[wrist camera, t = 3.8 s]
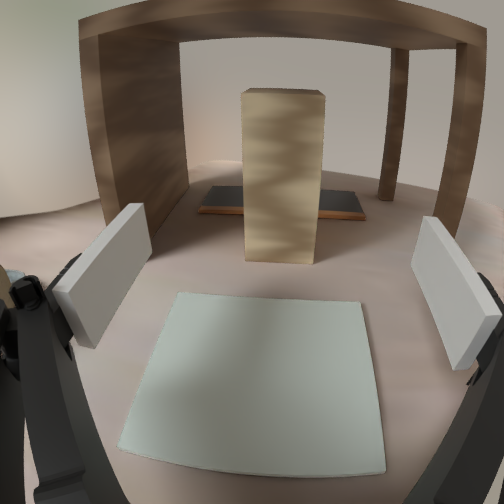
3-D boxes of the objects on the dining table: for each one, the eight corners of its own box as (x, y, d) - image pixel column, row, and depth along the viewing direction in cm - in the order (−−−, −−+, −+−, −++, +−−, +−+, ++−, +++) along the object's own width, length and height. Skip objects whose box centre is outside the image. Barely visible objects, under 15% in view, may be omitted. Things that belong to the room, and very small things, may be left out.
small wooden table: (116, 264, 24) (78, 19, 14) (177, 186, 37) (165, 32, 27) (440, 280, 21) (486, 28, 11) (389, 195, 34) (404, 38, 24)
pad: (119, 450, 11) (116, 446, 11) (179, 296, 21) (178, 292, 20) (383, 473, 10) (386, 471, 10) (358, 306, 19) (360, 301, 19)
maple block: (245, 260, 24) (240, 93, 17) (252, 228, 28) (250, 88, 22) (312, 264, 23) (325, 95, 17) (310, 230, 28) (318, 90, 21)
